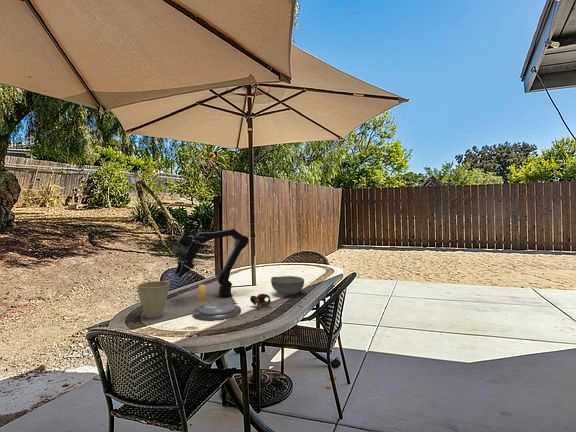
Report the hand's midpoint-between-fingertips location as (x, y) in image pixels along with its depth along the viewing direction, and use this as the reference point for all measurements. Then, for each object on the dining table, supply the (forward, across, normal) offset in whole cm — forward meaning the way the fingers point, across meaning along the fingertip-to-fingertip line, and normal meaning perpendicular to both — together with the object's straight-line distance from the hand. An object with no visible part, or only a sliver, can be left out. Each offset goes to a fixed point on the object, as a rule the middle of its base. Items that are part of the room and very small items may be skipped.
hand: (177, 275), depth 198 cm
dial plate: (+5, +30, +20) cm, 37 cm away
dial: (+3, +30, +19) cm, 36 cm away
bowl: (-22, +15, +60) cm, 66 cm away
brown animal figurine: (-8, +32, +40) cm, 51 cm away
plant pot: (+21, +19, -3) cm, 28 cm away
